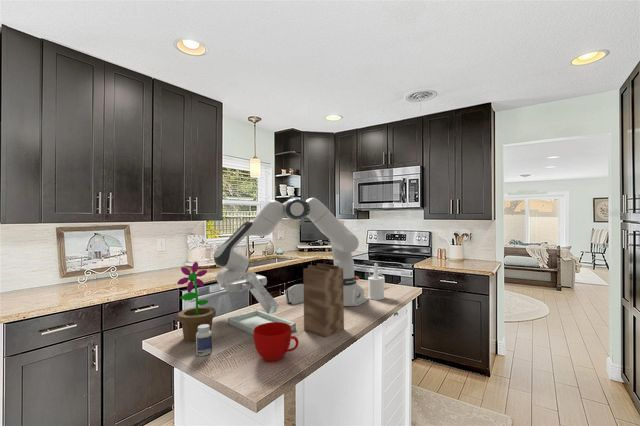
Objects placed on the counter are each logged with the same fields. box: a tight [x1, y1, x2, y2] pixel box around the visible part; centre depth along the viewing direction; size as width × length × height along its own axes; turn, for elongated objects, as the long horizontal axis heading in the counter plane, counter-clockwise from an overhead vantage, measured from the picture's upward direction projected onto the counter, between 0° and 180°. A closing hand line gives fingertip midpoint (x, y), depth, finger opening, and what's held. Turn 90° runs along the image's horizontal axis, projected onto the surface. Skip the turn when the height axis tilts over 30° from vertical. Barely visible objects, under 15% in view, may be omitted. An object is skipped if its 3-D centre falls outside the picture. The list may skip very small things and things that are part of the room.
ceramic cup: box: [253, 322, 300, 363], centre depth 107 cm, size 13×17×10 cm
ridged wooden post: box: [302, 262, 345, 338], centre depth 133 cm, size 12×12×27 cm
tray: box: [227, 309, 297, 337], centre depth 138 cm, size 16×28×3 cm, turn 47°
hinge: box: [285, 283, 304, 306], centre depth 178 cm, size 17×5×10 cm, turn 134°
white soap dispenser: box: [367, 262, 386, 301], centre depth 181 cm, size 10×9×20 cm
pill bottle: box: [195, 324, 213, 357], centre depth 112 cm, size 5×5×10 cm
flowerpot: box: [177, 261, 217, 343], centre depth 127 cm, size 14×14×30 cm
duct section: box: [245, 276, 279, 315], centre depth 137 cm, size 4×20×4 cm, turn 46°
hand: (255, 286), depth 140 cm, fingers closed on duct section, 4 cm apart
